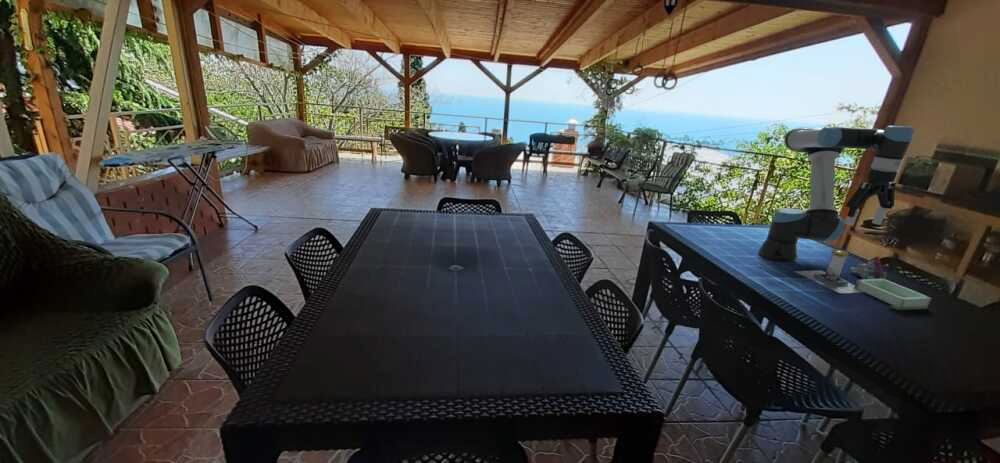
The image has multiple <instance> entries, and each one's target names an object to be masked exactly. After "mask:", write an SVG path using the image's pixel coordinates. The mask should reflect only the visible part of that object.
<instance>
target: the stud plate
mask: <svg viewBox="0 0 1000 463" xmlns="http://www.w3.org/2000/svg"><path fill="white" fill-rule="evenodd" d="M794 272H795V273H796V274H798V275H801V276H803V277H805V278H807V279H809V280H811V281H813V282H815V283H817V284H819V285H821V286H823V287H826V288H827V289H830V290H832V291H834V292H836V293H838V294H856V293H857V294H858V293H864V292H863V291H861V290H859V289H856V288H854V286H855V284H853V283H852V282H850V281H848V280H846V279H843V278H841V277H839V279H838V281H831V280H829V279H826V278H824V276H825V273H826V271H824V270H798V271H797V270H795V271H794Z"/></svg>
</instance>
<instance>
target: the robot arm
mask: <svg viewBox="0 0 1000 463" xmlns="http://www.w3.org/2000/svg"><path fill="white" fill-rule="evenodd" d="M914 131H915V129H914V127H913V126H903V125H887V126H886V127H885V128H884V129H882V128H862V127H861V128H856V127H855V128H853V127H842V126H824V127H822V128H816V127H797V128H793V129H792V130H790V131H789V132H788V133H786V134H785V136H784V140H783V143H784V145H785V147H786V148H787V149H788V150H790V151H792V152H796V153H805V154H807V159H808V161H810V162H811V163H810V164H811V165H810V188H809V189H810V190H809V192H810V193H809V208H808V209H807V210H804V209H800V208H792V207H791V208H790V207H789V208H788V207H786V208H779V209H777V210H775V211H774V214H773V217H772V218H771V223H770V226H769V230H768V234H767V237H766V239H765V240H764V242H763V243H762V245H761V246H760V247H759V249H758V252H757V253H758V255H759V256H761V257H763V258H765V259H768V260H772V261H774V262H780V263H789V262H791V263H792V262H793V263H794V262H797V259H798V254H797V250H798V249H797V243H798V240H799V239H801V240H803V239H804V240H811V241H817V242H818V241H819V242H834V241H837V239H839V238H840V237H841V235H842V233H843V232H844V230H845V225H846V226H847V225H848V226H850V227H854V225H855V222H856V221H857V217H858V215H859V212H860V209H859V208H860V207H861V206H862V205H863V204H864V203H866V202H867V201H868V200H869V199H870V198H871V197H873V196H876V197H877V199H878V203H879V206H877V208H876V211H875V214H874V216H873V219H872V221H871V223H872V224H874V225H879V226H881V225H882V223H883V221H884V218H885V215H886V213H887V211H888V209H889V210H892V209H893V207H894V206H895V188H896V185H897V183H895V180H896V177H897V175H898V171H899V170H900V168H901V167H900V166H901V165H902V162H903V159H904V157H905V155H906V153H907V150H908V148H909V146H910V144H911V141H912V138H913V134H914ZM846 148H847V149H855V150H856V149H858V150H872V151H875V154H874V157H873V159H872V162H871V165H870V167H871V168H870V169H869V170H868V173H867V176H866V178H867V179H868V180H869V181H868V182H864V181H861V182H860V184H859V185H858V188H857V189H856V191H855V192H854V194H852V196H851V197H850V199H849V200H848V201H847V202H846V203H845V206H846V207H847V208H849V209H848V211H847V216H846V218H845V220H844V218H843V217H841V216H839V211H838V210H837V209H835V208H834V206H835V177H836V176H835V172H836V170H835V167H836V166H835V165H836V159H837V158H839V157H840V155H841V154H842V153H843V152H844V151H845V149H846Z"/></svg>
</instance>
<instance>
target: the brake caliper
mask: <svg viewBox="0 0 1000 463" xmlns="http://www.w3.org/2000/svg"><path fill="white" fill-rule="evenodd" d="M849 270H850V271H851V272H852V273H853V275H855V276H856V277H857V276H858V277H859V278H861V280H862V279H886V280H887V272H885V271H883V270H882V264H881V258H880V256H878V255H877V256H875V257H873V258H871V259H869V260H868V261H866V262H864V263H859V264H858V265H857V267H849Z"/></svg>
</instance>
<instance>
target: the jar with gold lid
mask: <svg viewBox="0 0 1000 463" xmlns="http://www.w3.org/2000/svg"><path fill="white" fill-rule="evenodd" d="M848 256H849V252H848V251H845V250H841V249H833V250H832V252H831V257H830V258H829V262H828V265H827V268H826V271H825V272H826V273H825V276H824V278H826V279H829V280H831V281H838V279H839V278H840V275H841V273H842V271H843V267H844V264H845V263H846V259H847V257H848Z"/></svg>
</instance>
